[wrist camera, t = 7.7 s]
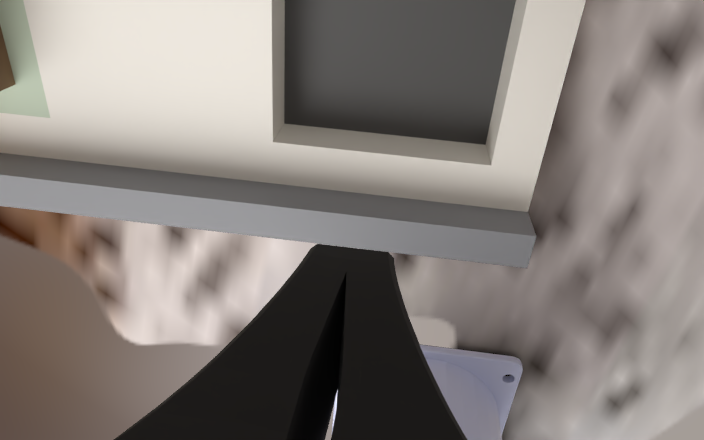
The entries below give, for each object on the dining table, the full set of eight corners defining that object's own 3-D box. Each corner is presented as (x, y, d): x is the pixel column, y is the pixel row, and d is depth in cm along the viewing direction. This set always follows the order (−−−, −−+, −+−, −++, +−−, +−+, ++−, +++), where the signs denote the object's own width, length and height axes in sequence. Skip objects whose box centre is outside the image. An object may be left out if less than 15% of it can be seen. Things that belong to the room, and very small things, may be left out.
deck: (506, 231, 20) (524, 298, 17) (-91, 163, 22) (-186, 211, 18) (630, -251, 13) (703, -306, 10) (-274, -306, 15) (-486, -370, 11)
